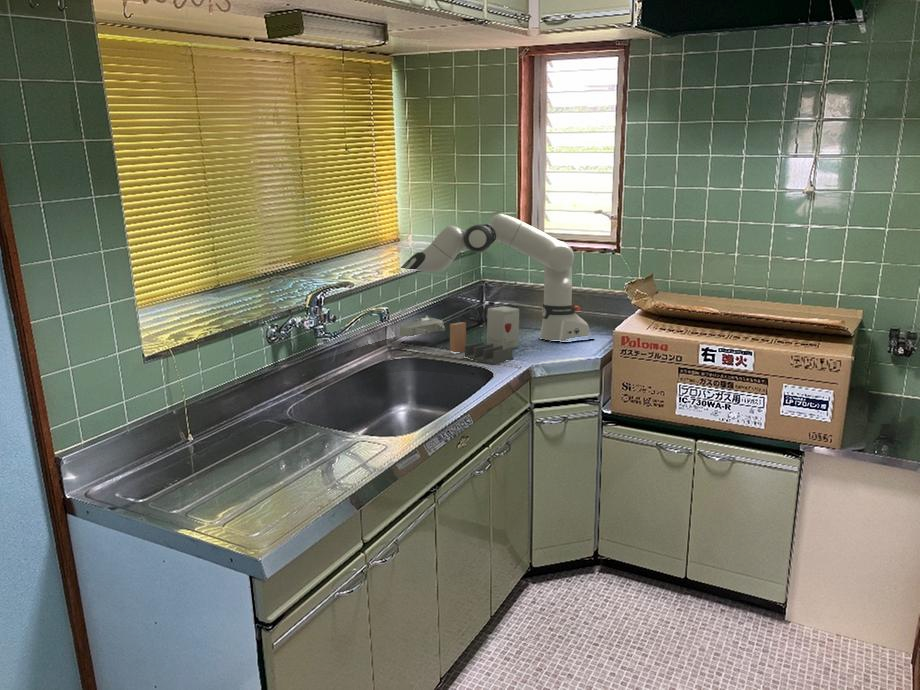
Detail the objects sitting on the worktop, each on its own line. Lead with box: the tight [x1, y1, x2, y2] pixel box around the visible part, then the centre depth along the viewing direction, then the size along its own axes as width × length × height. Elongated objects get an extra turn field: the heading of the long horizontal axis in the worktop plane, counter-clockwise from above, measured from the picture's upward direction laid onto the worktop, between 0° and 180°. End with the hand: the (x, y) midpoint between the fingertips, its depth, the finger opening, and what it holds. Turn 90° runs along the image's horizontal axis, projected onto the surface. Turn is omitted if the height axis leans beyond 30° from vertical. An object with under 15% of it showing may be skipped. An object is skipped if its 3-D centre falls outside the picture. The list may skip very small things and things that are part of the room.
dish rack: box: [463, 341, 514, 366], centre depth 264 cm, size 11×14×4 cm
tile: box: [449, 321, 467, 353], centre depth 273 cm, size 6×2×11 cm, turn 137°
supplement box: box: [486, 306, 520, 349], centre depth 283 cm, size 9×9×15 cm
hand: (434, 330), depth 281 cm, fingers open, 8 cm apart
